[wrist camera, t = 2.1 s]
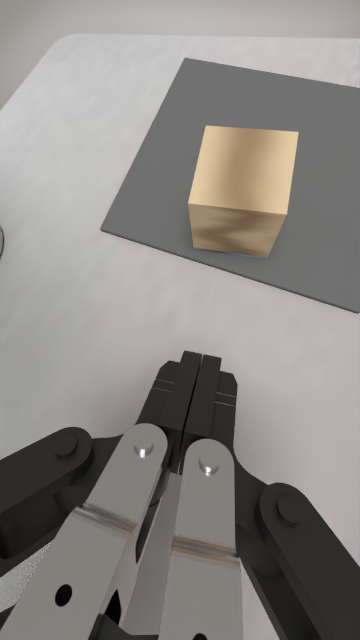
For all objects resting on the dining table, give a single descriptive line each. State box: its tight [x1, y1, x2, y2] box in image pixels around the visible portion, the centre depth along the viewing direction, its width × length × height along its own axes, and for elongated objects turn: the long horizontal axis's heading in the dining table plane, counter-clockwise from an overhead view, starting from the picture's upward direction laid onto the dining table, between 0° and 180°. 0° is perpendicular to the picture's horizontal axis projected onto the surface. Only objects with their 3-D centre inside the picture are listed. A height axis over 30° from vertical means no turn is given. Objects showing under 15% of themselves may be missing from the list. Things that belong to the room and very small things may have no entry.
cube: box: [188, 126, 299, 260], centre depth 23 cm, size 7×7×7 cm
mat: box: [100, 58, 360, 313], centre depth 28 cm, size 26×24×1 cm
